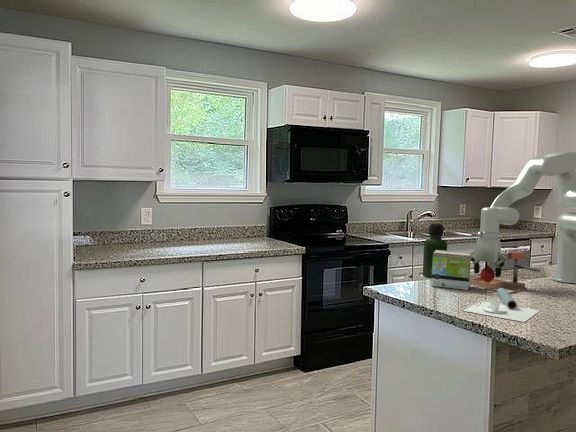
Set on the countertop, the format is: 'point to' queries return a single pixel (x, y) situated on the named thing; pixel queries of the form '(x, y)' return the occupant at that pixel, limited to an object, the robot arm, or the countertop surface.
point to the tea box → (451, 269)
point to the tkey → (516, 257)
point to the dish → (479, 282)
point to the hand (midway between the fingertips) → (487, 275)
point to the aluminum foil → (507, 298)
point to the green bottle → (433, 247)
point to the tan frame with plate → (510, 287)
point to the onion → (487, 274)
